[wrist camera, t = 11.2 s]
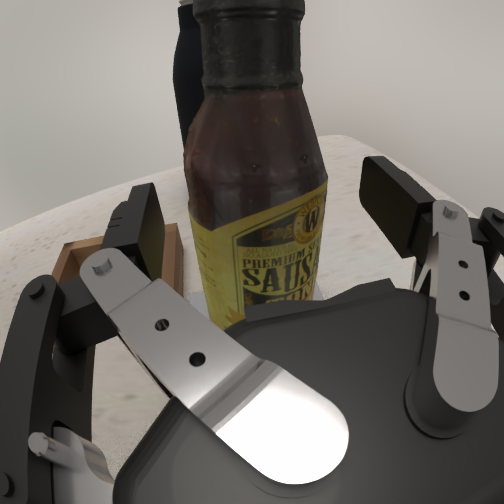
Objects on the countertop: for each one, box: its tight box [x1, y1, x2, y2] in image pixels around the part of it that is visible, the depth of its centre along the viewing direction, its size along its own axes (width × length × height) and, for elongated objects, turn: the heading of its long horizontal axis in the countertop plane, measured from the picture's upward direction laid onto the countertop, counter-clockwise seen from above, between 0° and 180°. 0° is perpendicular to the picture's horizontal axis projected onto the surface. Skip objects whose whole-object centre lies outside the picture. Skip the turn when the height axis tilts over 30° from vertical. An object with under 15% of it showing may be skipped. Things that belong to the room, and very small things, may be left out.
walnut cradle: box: [51, 223, 183, 352], centre depth 23 cm, size 12×11×3 cm
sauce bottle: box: [183, 0, 328, 331], centre depth 14 cm, size 6×6×20 cm
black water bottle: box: [173, 0, 205, 150], centre depth 27 cm, size 6×6×30 cm
